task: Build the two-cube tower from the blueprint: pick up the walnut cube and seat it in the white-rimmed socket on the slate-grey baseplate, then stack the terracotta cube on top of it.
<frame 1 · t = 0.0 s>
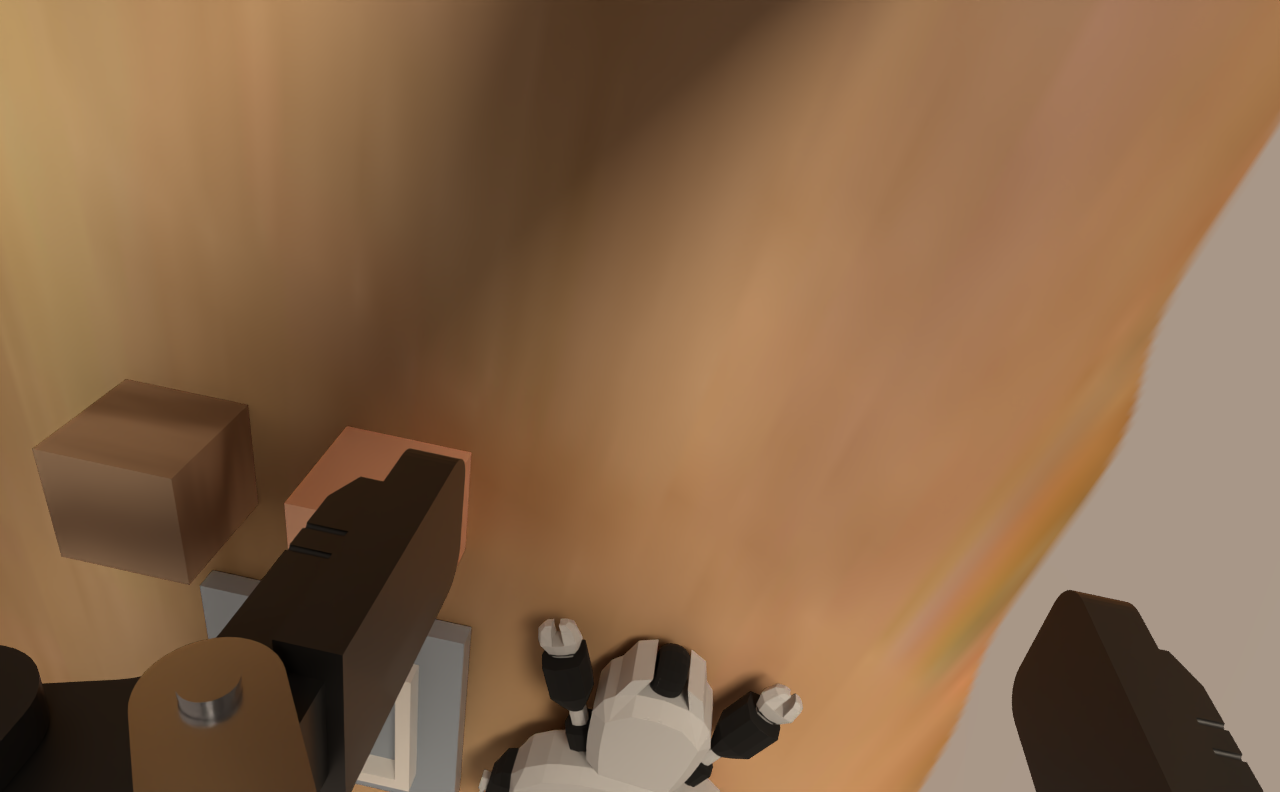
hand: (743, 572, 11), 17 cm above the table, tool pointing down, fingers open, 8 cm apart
robot toy: (636, 720, 40), on the table
walnut cube: (195, 442, 35), on the table
terracotta cube: (408, 488, 34), on the table
baseplate: (344, 686, 41), on the table
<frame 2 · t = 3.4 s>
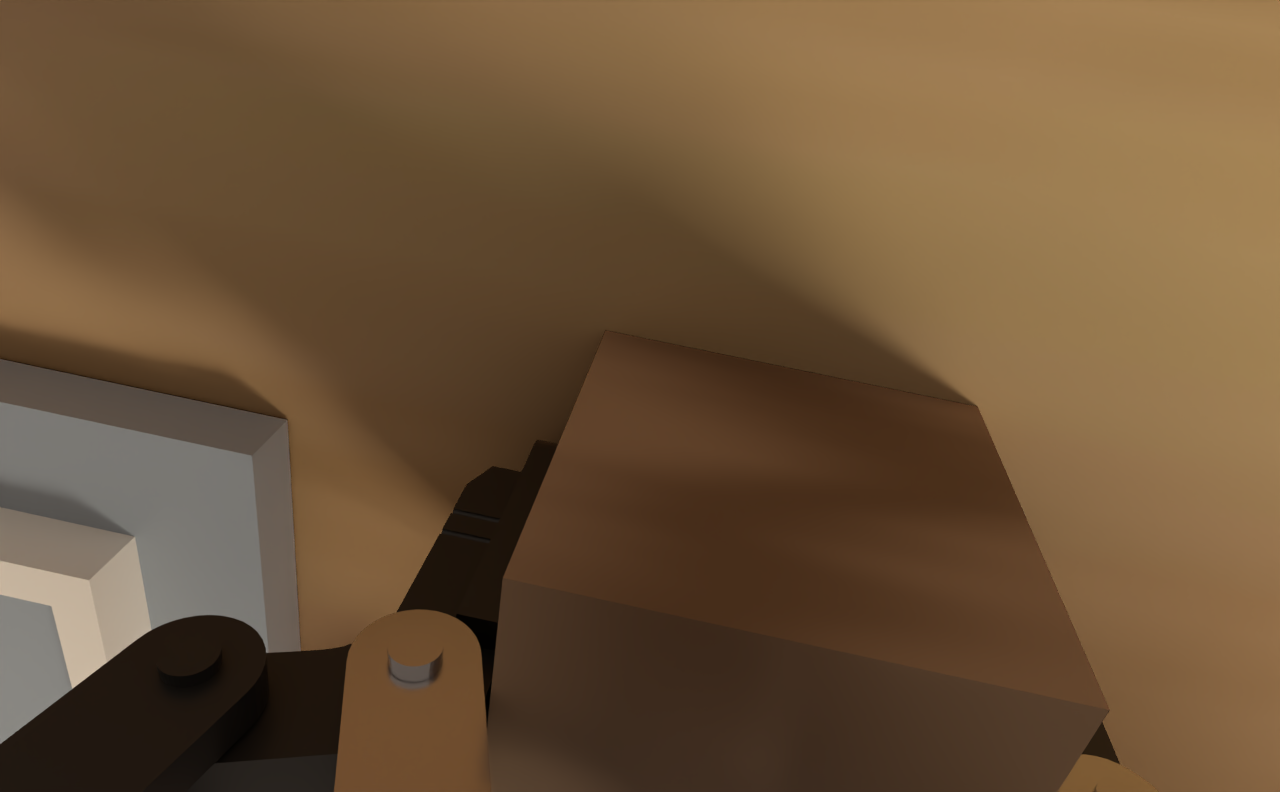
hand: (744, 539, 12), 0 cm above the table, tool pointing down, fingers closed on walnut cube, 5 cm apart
walnut cube: (748, 516, 12), on the table, touching gripper
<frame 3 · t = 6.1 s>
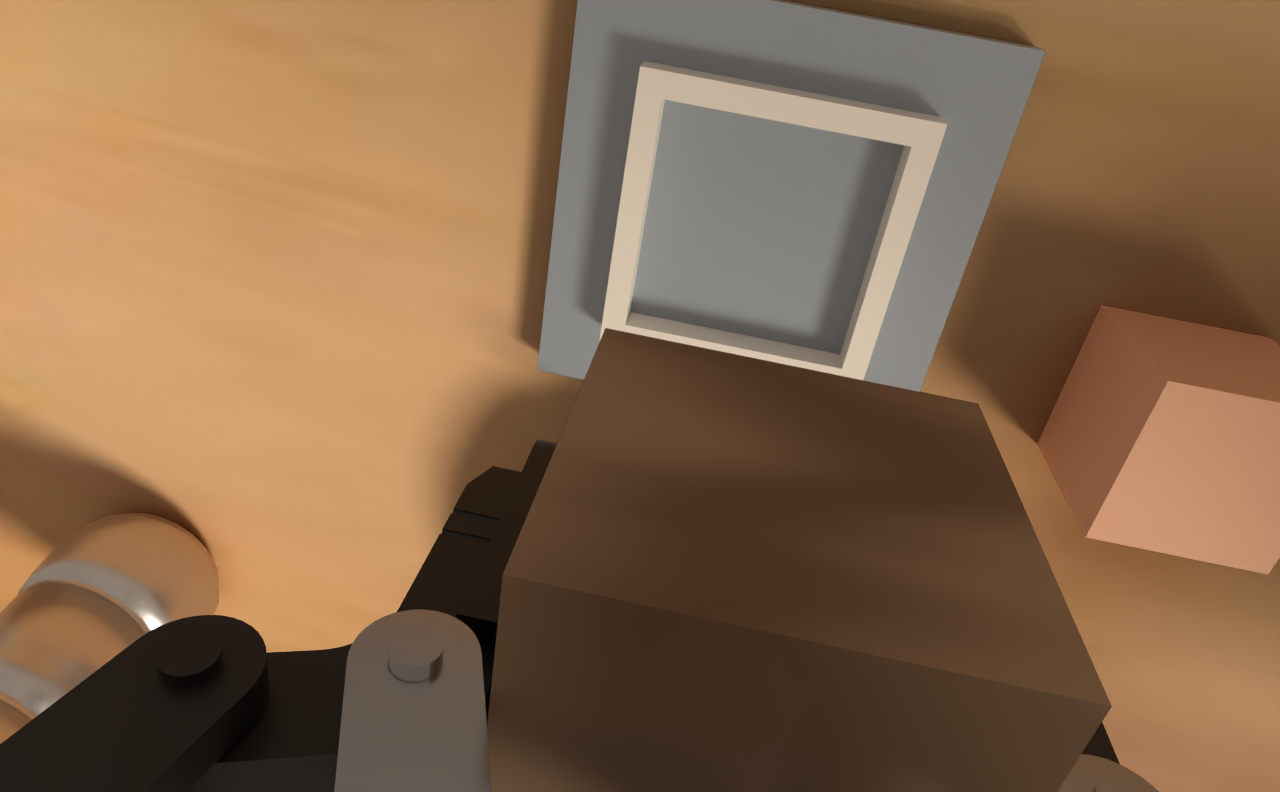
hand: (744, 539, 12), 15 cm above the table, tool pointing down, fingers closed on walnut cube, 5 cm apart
walnut cube: (748, 514, 12), point 15 cm above the table, touching gripper
plastic bottle: (170, 553, 36), on the table
terracotta cube: (1147, 392, 27), on the table
baseplate: (758, 221, 25), on the table
when the fingers open (3 cm above the table, at t = 8.9 s): walnut cube drops 1 cm, resting on baseplate.
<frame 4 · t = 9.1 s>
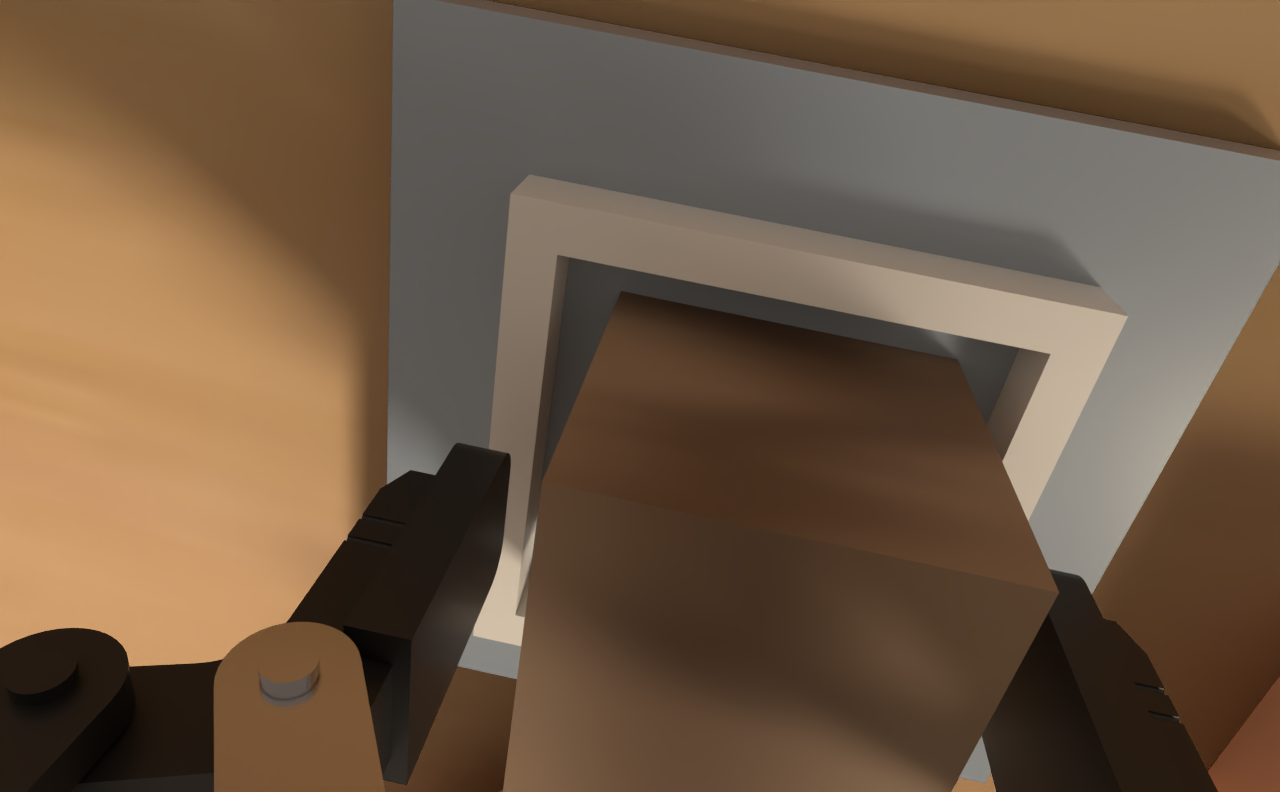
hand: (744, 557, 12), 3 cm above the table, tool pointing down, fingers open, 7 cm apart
walnut cube: (750, 464, 14), point 1 cm above the table, touching baseplate
baseplate: (749, 434, 15), on the table
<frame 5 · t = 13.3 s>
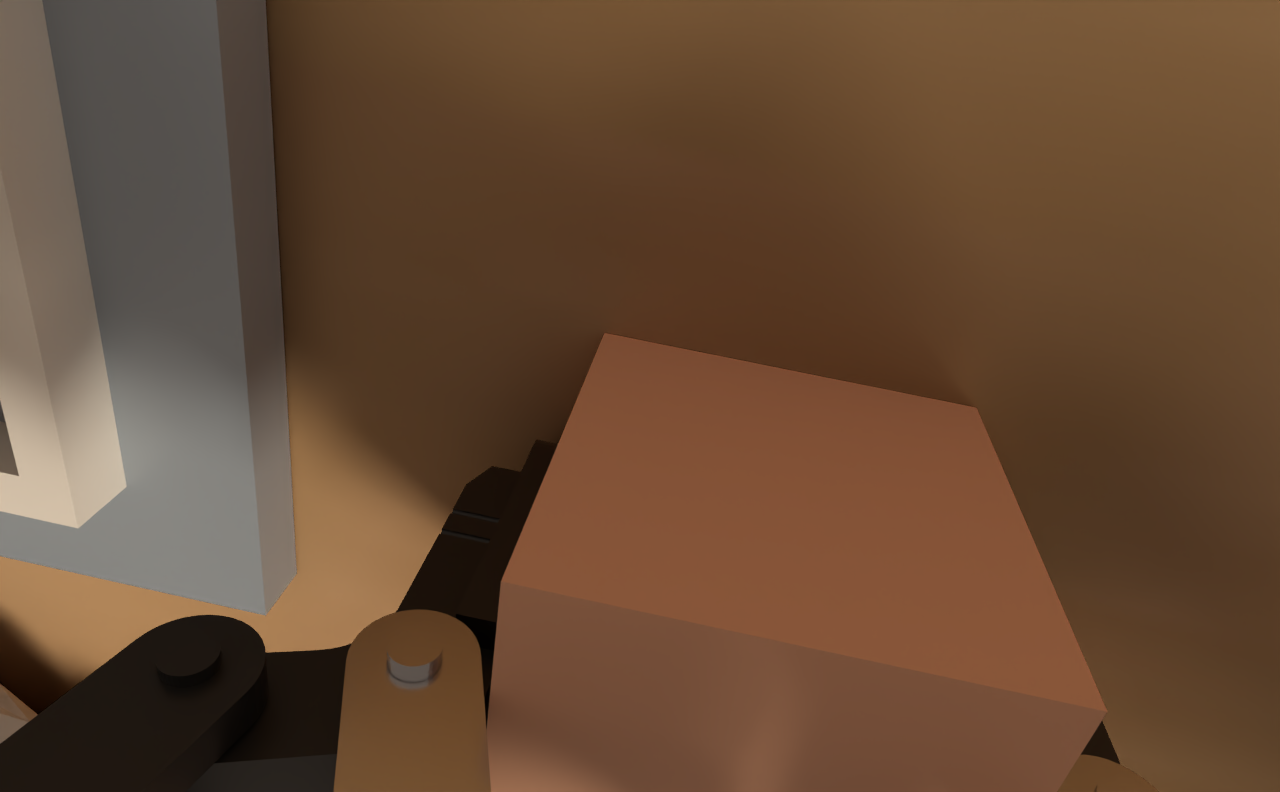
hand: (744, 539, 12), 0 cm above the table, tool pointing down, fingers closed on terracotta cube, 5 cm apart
robot toy: (132, 789, 19), on the table
terracotta cube: (747, 518, 12), on the table, touching gripper
when the fingers open (8 cm above the table, at t = 18.7 s): terracotta cube drops 1 cm, resting on walnut cube.
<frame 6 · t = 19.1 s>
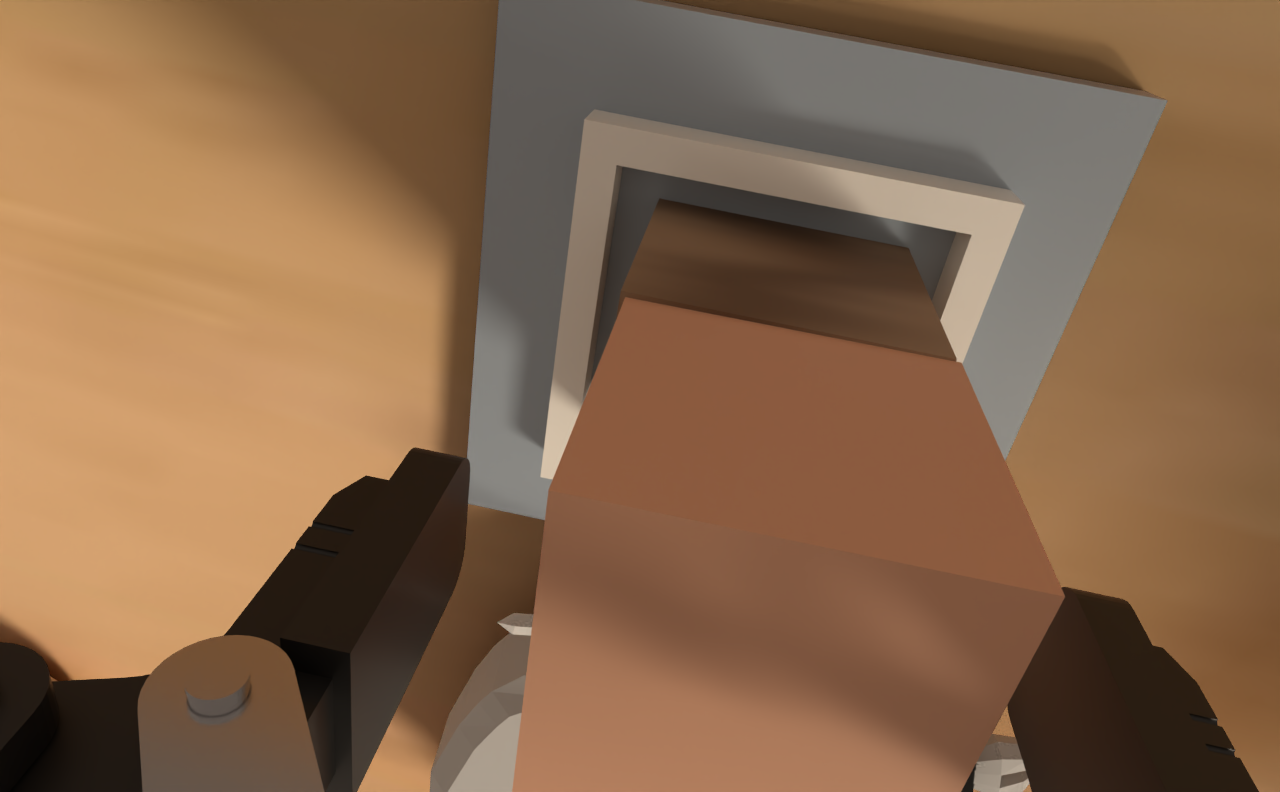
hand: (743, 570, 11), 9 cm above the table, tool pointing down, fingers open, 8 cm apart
robot toy: (707, 729, 26), on the table
walnut cube: (754, 335, 18), point 1 cm above the table, touching baseplate, terracotta cube
terracotta cube: (755, 468, 14), point 6 cm above the table, touching walnut cube
baseplate: (754, 318, 19), on the table
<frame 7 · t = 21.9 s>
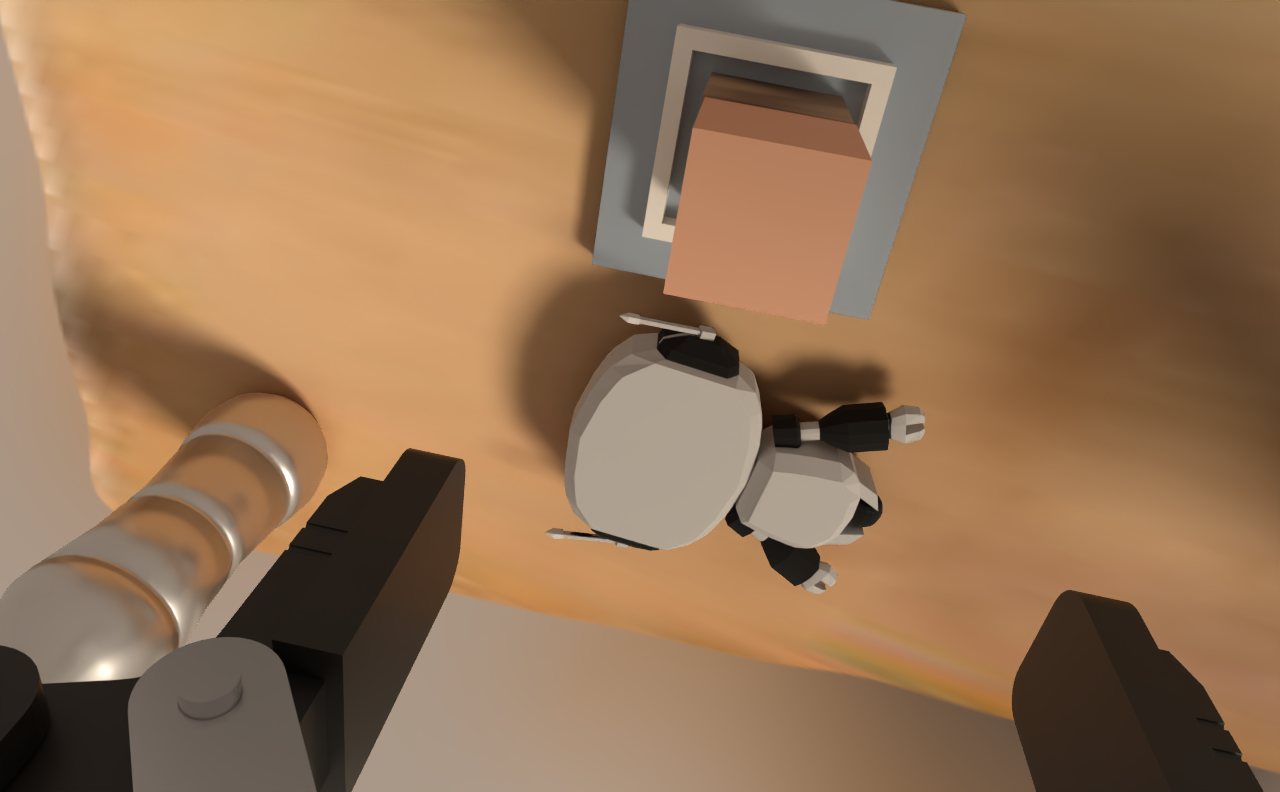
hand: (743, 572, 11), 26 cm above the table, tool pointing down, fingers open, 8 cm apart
robot toy: (731, 434, 41), on the table
walnut cube: (762, 150, 33), point 1 cm above the table, touching baseplate, terracotta cube
plastic bottle: (284, 431, 44), on the table
terracotta cube: (763, 185, 29), point 6 cm above the table, touching walnut cube
baseplate: (761, 146, 34), on the table
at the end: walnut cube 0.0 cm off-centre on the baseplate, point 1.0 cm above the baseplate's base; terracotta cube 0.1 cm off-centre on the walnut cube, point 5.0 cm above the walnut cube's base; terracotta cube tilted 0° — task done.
